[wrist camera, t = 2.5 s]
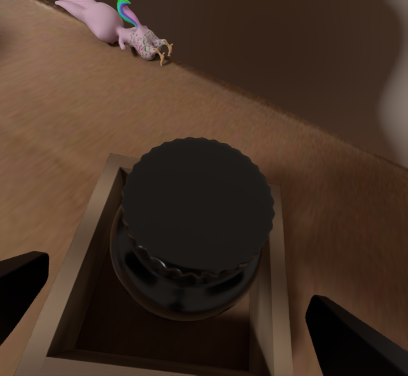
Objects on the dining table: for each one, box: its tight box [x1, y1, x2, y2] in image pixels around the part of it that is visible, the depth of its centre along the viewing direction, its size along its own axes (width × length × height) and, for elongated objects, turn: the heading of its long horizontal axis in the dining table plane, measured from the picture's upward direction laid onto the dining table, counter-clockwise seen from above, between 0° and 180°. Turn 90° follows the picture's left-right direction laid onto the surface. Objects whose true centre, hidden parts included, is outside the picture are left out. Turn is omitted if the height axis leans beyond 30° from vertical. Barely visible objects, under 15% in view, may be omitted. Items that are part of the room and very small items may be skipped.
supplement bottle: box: [110, 137, 275, 322], centre depth 12 cm, size 7×7×12 cm
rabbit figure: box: [55, 0, 173, 66], centre depth 28 cm, size 6×6×15 cm
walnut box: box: [14, 153, 293, 376], centre depth 15 cm, size 13×13×4 cm
